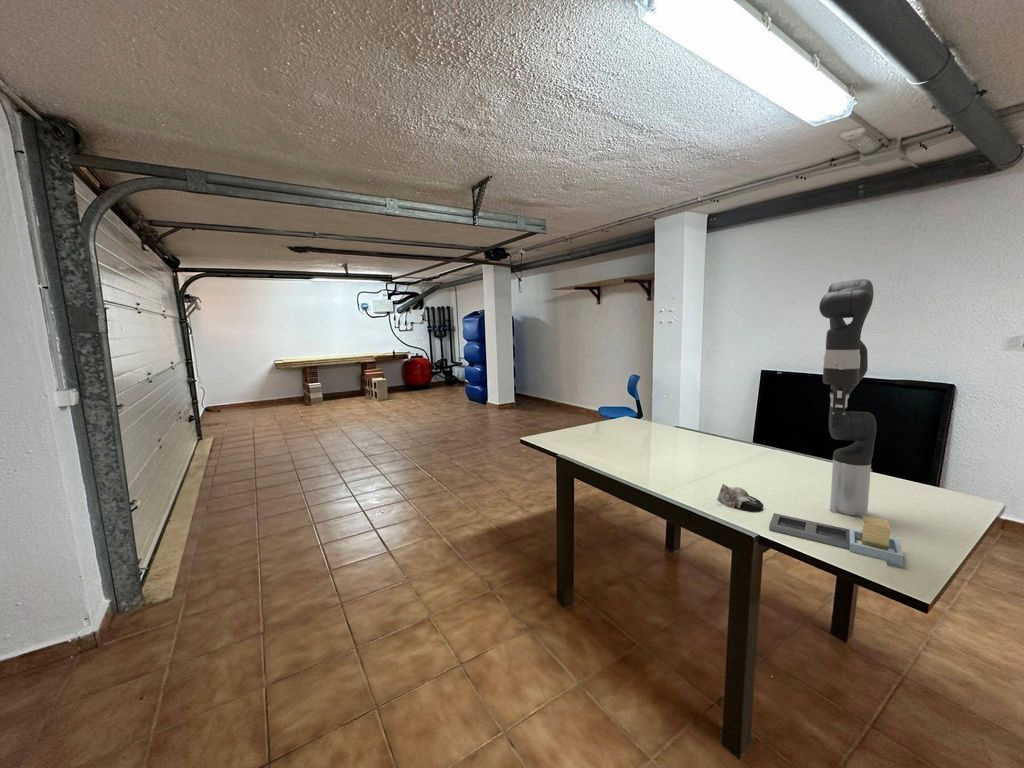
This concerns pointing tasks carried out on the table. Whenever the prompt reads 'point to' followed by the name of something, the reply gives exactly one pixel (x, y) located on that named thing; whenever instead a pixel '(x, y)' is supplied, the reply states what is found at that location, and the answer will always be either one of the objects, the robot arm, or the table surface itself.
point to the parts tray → (877, 549)
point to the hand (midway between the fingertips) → (837, 425)
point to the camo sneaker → (738, 499)
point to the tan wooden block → (875, 533)
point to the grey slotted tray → (810, 530)
